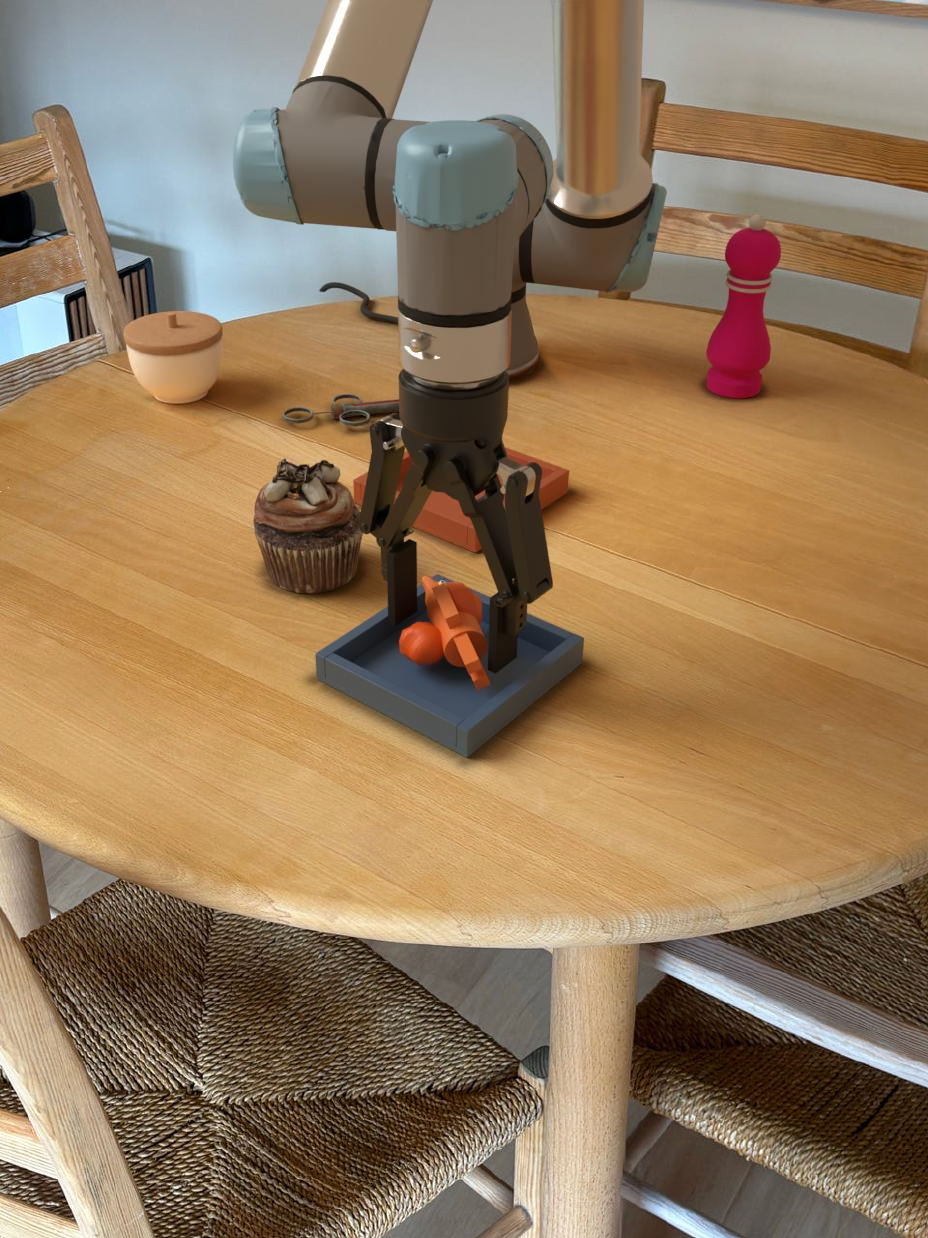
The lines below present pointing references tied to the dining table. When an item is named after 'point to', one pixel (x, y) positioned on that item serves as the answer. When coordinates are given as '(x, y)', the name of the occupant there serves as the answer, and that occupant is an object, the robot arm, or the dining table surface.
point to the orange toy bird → (448, 630)
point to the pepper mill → (744, 314)
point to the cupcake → (308, 528)
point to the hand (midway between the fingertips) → (451, 639)
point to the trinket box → (175, 354)
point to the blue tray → (447, 677)
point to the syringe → (348, 410)
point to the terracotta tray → (446, 513)
